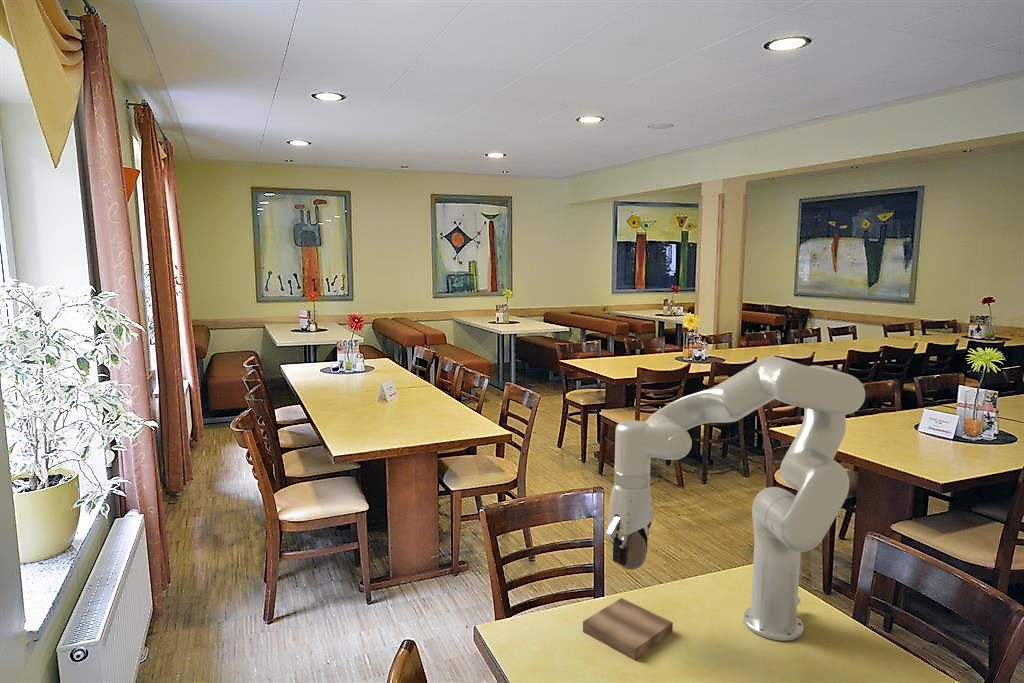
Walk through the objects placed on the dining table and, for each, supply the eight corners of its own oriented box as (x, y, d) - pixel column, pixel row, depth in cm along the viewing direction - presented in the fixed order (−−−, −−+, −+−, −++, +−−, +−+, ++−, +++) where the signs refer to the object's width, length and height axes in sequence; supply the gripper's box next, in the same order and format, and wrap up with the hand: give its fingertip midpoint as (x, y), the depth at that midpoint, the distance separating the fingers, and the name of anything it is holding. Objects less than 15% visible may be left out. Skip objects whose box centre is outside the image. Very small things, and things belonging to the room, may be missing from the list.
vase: (646, 574, 135) (647, 535, 133) (613, 571, 136) (614, 532, 135) (646, 559, 141) (647, 522, 140) (614, 556, 143) (615, 519, 142)
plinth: (621, 607, 151) (621, 597, 150) (672, 632, 141) (672, 622, 140) (582, 631, 141) (583, 621, 141) (634, 660, 131) (635, 649, 131)
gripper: (641, 465, 145) (639, 539, 147) (592, 484, 133) (591, 564, 135) (669, 473, 139) (667, 550, 142) (621, 493, 127) (619, 577, 130)
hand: (630, 556), depth 138 cm, fingers closed on vase, 6 cm apart
